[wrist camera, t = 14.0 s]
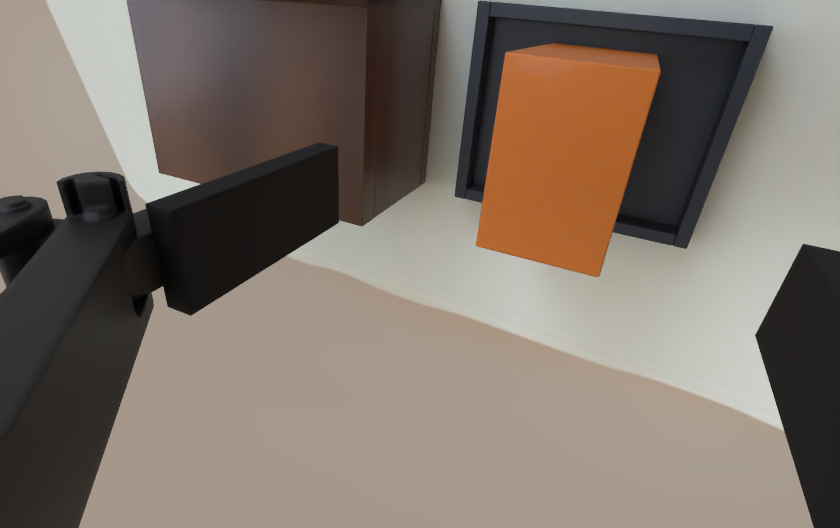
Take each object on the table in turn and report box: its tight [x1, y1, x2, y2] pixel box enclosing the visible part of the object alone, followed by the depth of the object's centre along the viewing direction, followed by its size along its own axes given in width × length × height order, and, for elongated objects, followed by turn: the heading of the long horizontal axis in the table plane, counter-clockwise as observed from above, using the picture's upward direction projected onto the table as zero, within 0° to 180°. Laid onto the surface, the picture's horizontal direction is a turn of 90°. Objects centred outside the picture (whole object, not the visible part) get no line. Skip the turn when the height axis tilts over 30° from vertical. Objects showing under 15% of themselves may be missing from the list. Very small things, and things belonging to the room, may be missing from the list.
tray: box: [455, 1, 773, 249], centre depth 30 cm, size 16×13×2 cm
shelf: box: [127, 0, 441, 226], centre depth 29 cm, size 17×13×20 cm
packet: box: [476, 43, 661, 277], centre depth 26 cm, size 6×9×12 cm, turn 175°
